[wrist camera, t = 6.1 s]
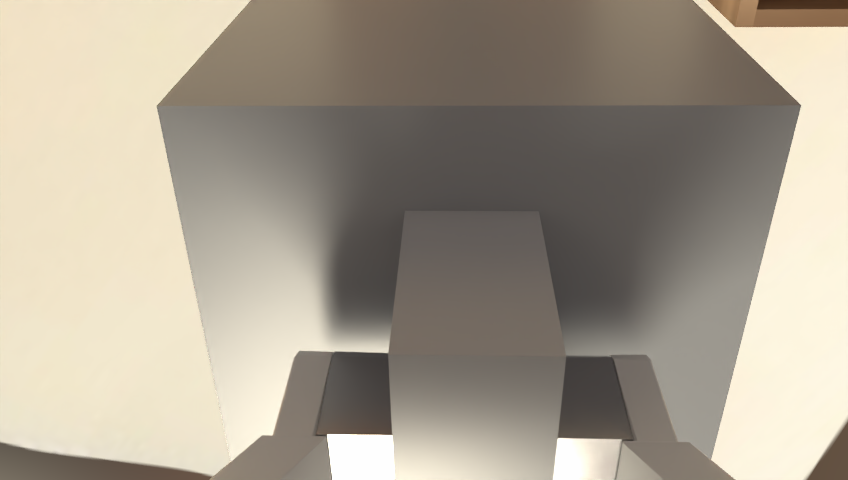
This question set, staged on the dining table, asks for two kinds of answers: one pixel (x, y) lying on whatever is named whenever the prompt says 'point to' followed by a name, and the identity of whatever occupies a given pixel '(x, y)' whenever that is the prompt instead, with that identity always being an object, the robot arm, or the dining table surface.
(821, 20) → the open brown box
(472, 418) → the housing
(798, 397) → the dining table surface
